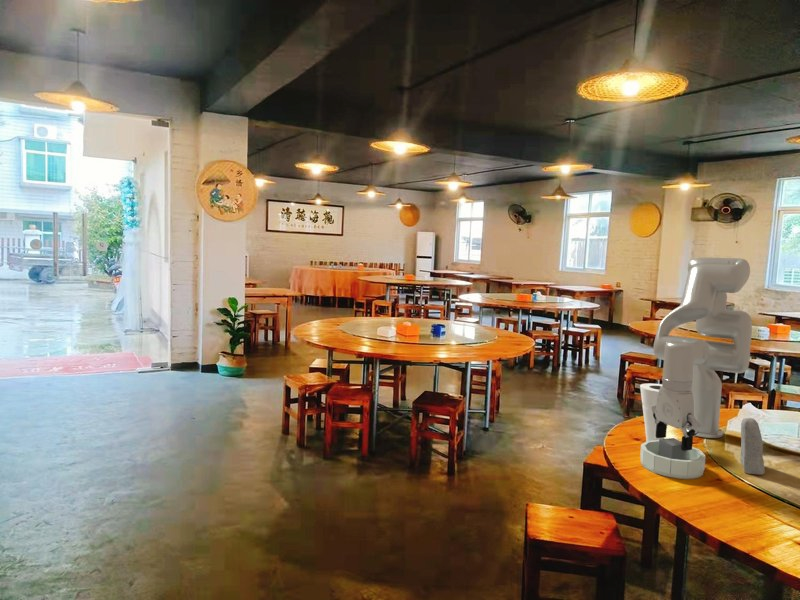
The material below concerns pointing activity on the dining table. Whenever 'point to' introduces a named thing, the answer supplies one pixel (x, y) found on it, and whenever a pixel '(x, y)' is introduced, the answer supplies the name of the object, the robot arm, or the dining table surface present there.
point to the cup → (649, 408)
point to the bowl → (672, 462)
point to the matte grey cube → (671, 449)
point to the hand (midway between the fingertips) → (673, 443)
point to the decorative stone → (751, 447)
